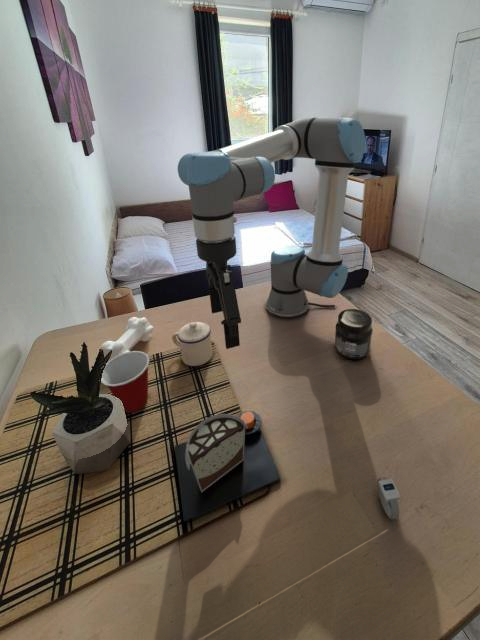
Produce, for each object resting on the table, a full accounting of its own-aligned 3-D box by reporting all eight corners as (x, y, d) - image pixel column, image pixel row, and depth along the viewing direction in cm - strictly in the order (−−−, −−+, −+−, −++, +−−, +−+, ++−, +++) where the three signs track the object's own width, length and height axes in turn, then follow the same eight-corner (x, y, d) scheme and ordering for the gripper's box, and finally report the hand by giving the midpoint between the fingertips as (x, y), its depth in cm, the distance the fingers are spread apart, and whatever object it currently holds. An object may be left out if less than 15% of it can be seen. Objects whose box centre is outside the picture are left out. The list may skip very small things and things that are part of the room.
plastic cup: (110, 394, 82) (99, 357, 77) (156, 381, 86) (148, 345, 81) (107, 429, 73) (95, 389, 68) (158, 413, 77) (150, 374, 72)
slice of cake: (233, 434, 71) (230, 401, 67) (249, 455, 66) (247, 420, 62) (179, 472, 63) (172, 436, 59) (193, 498, 59) (187, 462, 55)
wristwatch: (401, 523, 56) (405, 506, 54) (386, 526, 56) (390, 509, 54) (385, 486, 62) (389, 469, 60) (372, 489, 62) (375, 472, 60)
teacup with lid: (218, 349, 98) (215, 316, 93) (203, 370, 90) (199, 335, 85) (183, 342, 101) (178, 310, 96) (166, 362, 93) (159, 328, 88)
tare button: (252, 415, 73) (251, 409, 73) (256, 426, 71) (256, 420, 70) (239, 420, 72) (238, 414, 72) (243, 431, 70) (242, 425, 69)
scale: (256, 416, 76) (256, 407, 75) (282, 481, 63) (282, 471, 62) (174, 446, 70) (172, 436, 68) (184, 525, 56) (182, 514, 55)
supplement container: (358, 337, 104) (361, 305, 99) (376, 358, 94) (381, 324, 90) (328, 343, 100) (330, 311, 96) (344, 366, 91) (347, 332, 87)
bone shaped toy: (128, 372, 89) (122, 348, 86) (100, 368, 91) (93, 344, 88) (157, 338, 103) (153, 316, 100) (132, 335, 104) (127, 313, 101)
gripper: (254, 257, 53) (259, 358, 62) (220, 216, 74) (227, 296, 83) (209, 265, 51) (220, 370, 59) (186, 220, 71) (197, 303, 80)
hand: (224, 327), depth 71 cm, fingers open, 13 cm apart
